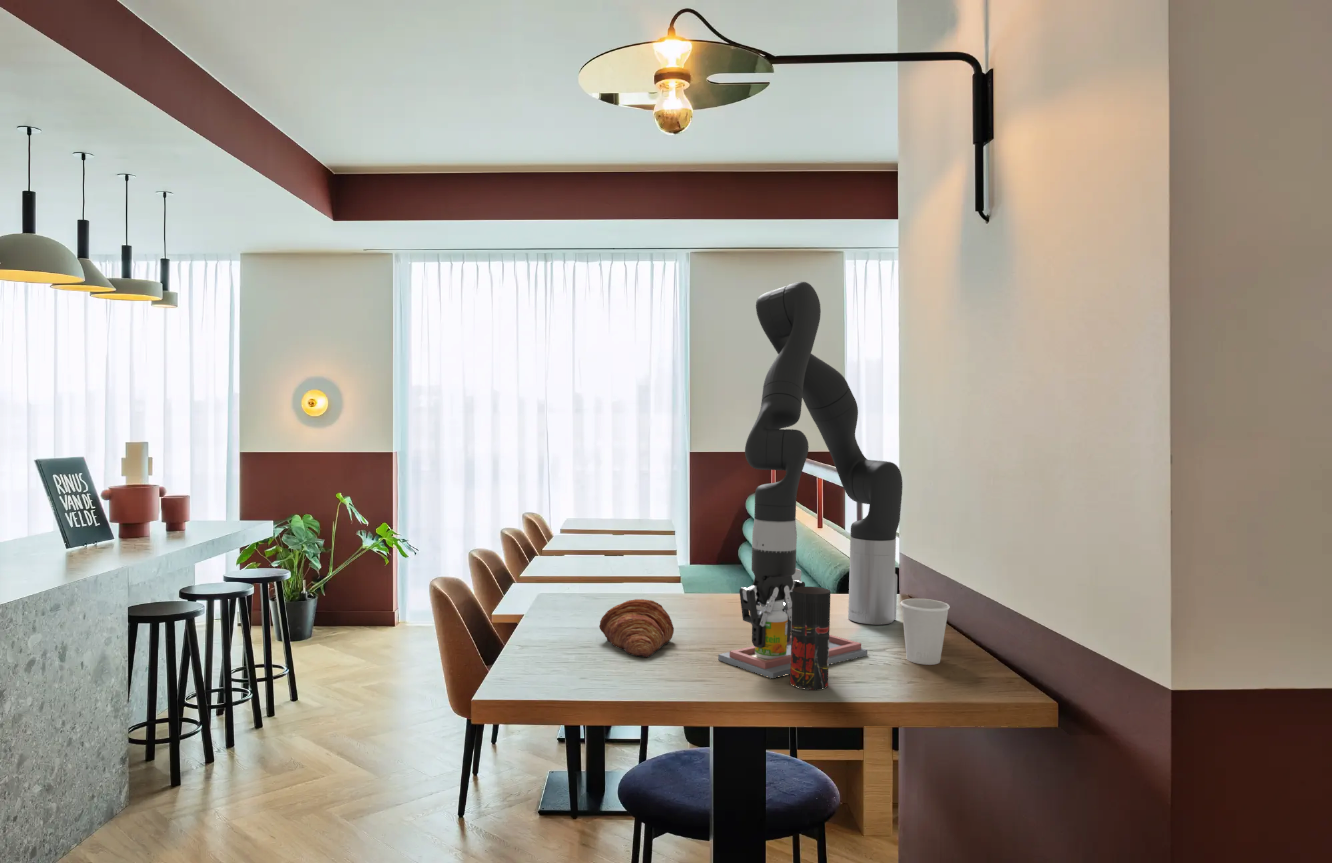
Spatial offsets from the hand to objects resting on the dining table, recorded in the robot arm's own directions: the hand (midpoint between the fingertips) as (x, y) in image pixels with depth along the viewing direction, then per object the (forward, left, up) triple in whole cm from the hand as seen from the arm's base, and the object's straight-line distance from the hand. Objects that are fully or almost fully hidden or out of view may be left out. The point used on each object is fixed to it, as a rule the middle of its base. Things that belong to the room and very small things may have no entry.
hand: (771, 643), depth 152 cm
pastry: (+10, -24, -4) cm, 26 cm away
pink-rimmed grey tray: (-6, 0, -3) cm, 7 cm away
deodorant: (+3, +12, -4) cm, 13 cm away
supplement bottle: (0, 0, -2) cm, 2 cm away
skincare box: (-20, -16, -4) cm, 26 cm away
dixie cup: (-24, +14, -4) cm, 28 cm away
